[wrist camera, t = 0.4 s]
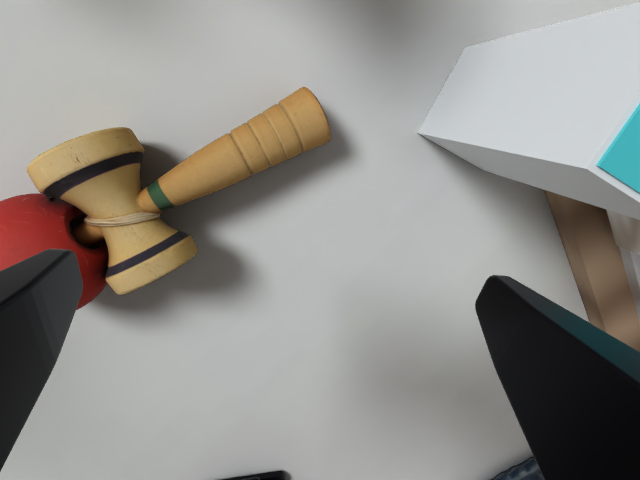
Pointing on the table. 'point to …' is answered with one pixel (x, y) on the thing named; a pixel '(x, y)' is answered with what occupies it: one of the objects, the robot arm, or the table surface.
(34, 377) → the robot arm
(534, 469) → the fish model
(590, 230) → the rail board
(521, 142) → the logic module
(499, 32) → the table surface
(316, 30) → the table surface
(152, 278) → the kendama
